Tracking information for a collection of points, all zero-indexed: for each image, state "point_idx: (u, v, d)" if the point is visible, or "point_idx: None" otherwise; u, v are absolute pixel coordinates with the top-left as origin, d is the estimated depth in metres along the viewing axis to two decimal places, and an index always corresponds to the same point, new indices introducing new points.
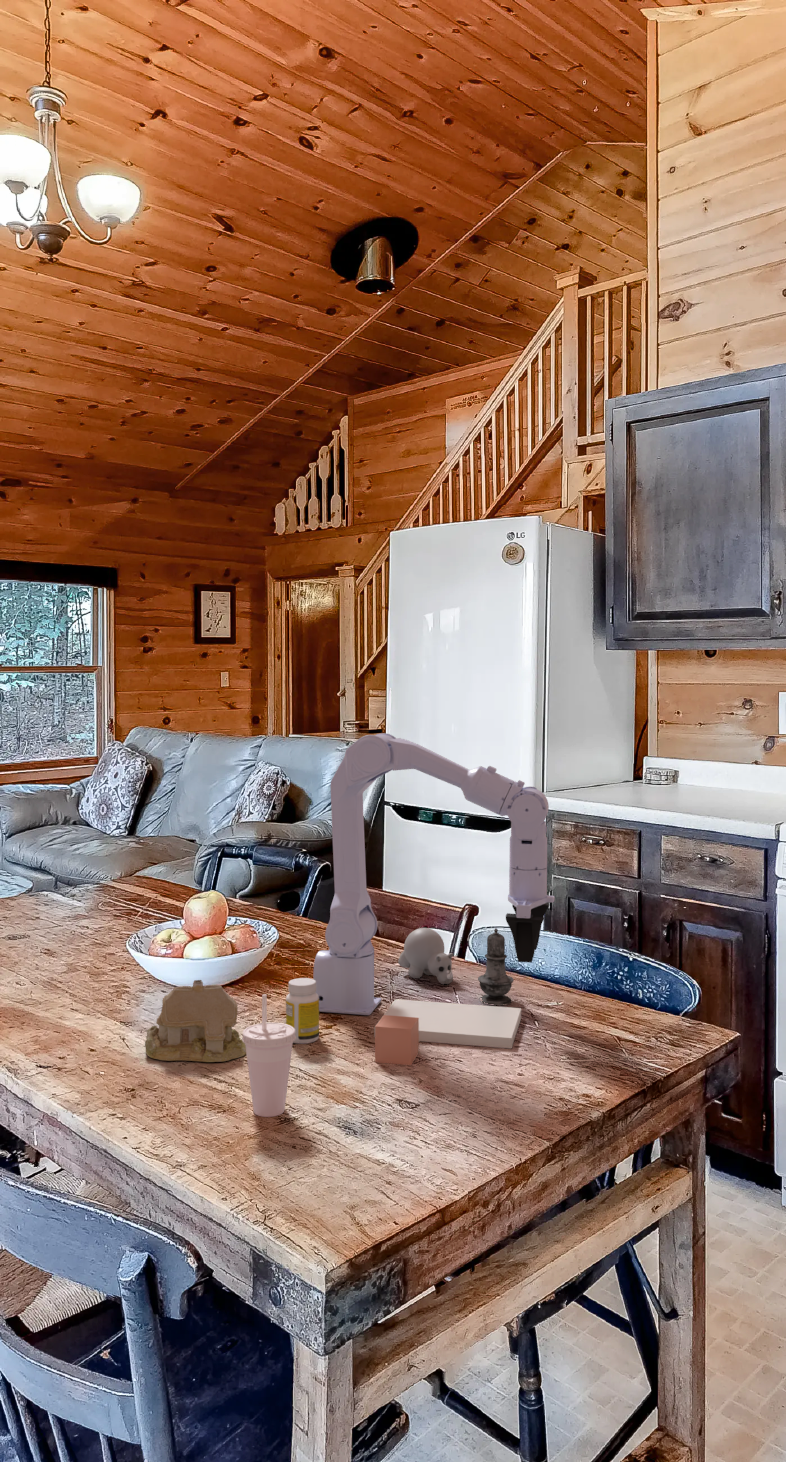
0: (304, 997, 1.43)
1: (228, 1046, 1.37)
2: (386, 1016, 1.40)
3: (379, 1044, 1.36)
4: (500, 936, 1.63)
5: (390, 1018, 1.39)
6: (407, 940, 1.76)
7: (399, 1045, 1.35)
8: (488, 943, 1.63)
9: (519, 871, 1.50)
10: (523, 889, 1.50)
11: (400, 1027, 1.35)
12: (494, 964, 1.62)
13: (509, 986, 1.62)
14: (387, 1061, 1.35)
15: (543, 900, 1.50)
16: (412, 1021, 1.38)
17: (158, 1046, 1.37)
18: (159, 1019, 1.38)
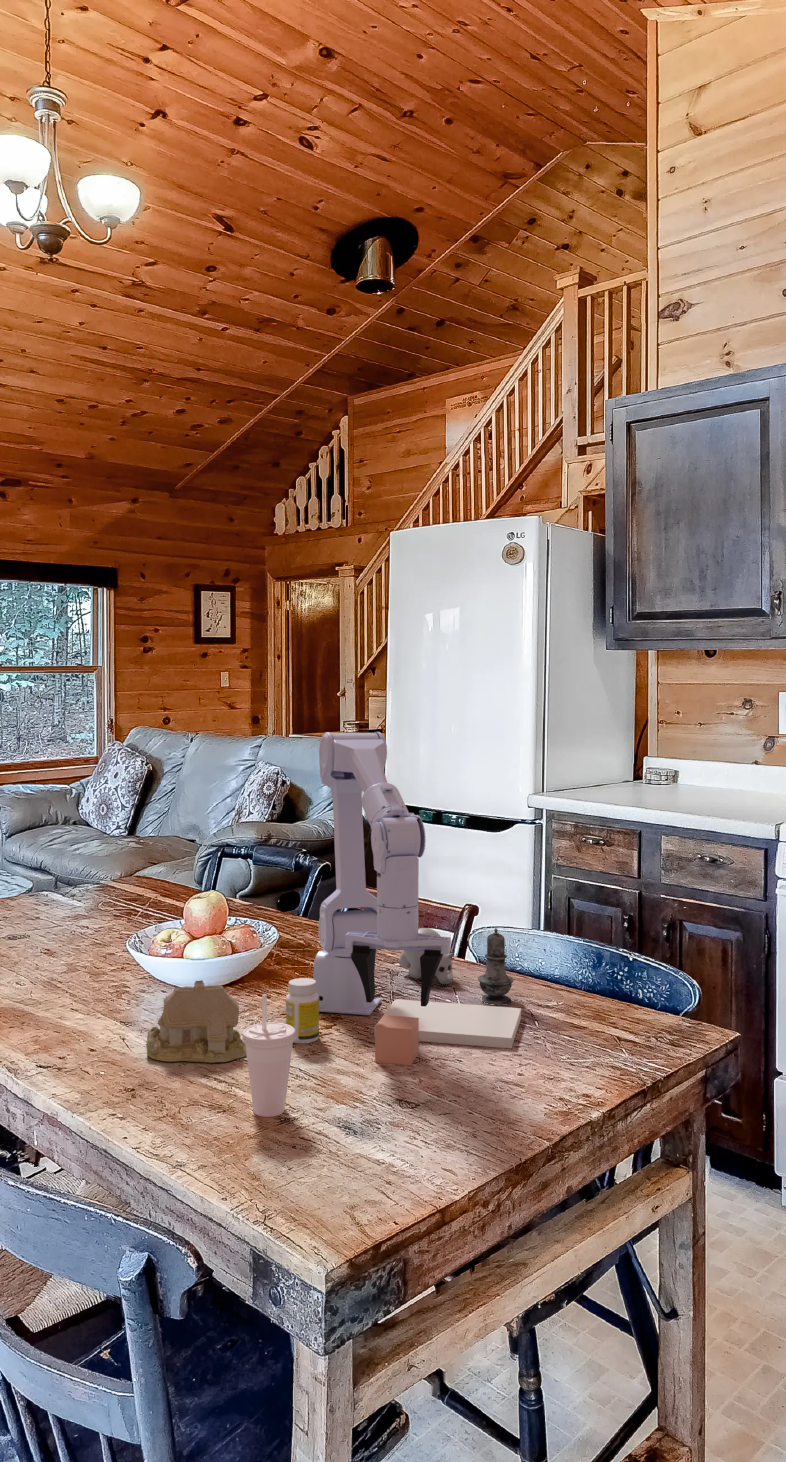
0: (304, 997, 1.43)
1: (229, 1047, 1.37)
2: (386, 1016, 1.40)
3: (379, 1044, 1.36)
4: (500, 936, 1.63)
5: (390, 1018, 1.39)
6: None
7: (399, 1045, 1.35)
8: (488, 943, 1.63)
9: None
10: None
11: (400, 1027, 1.35)
12: (494, 964, 1.62)
13: (509, 986, 1.62)
14: (387, 1061, 1.35)
15: (378, 940, 1.35)
16: (412, 1021, 1.38)
17: (160, 1047, 1.37)
18: (160, 1020, 1.38)
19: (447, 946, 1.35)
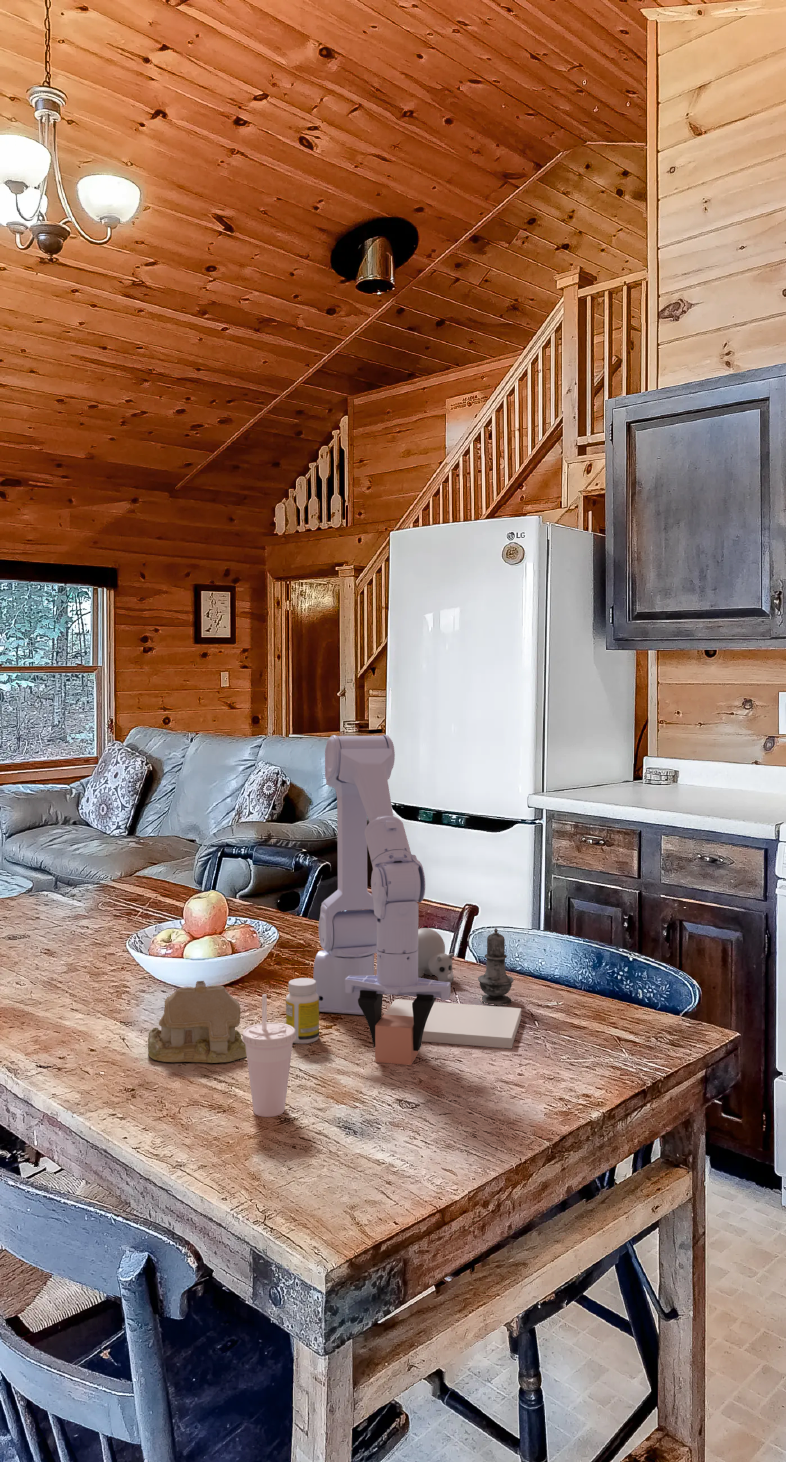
0: (304, 997, 1.43)
1: (232, 1047, 1.37)
2: (386, 1016, 1.40)
3: (379, 1043, 1.36)
4: (500, 936, 1.63)
5: (390, 1017, 1.39)
6: None
7: (400, 1045, 1.35)
8: (488, 943, 1.63)
9: None
10: None
11: (400, 1026, 1.35)
12: (494, 964, 1.62)
13: (509, 986, 1.62)
14: (387, 1060, 1.35)
15: (378, 985, 1.35)
16: (412, 1020, 1.38)
17: (161, 1047, 1.36)
18: (162, 1021, 1.37)
19: (447, 992, 1.35)
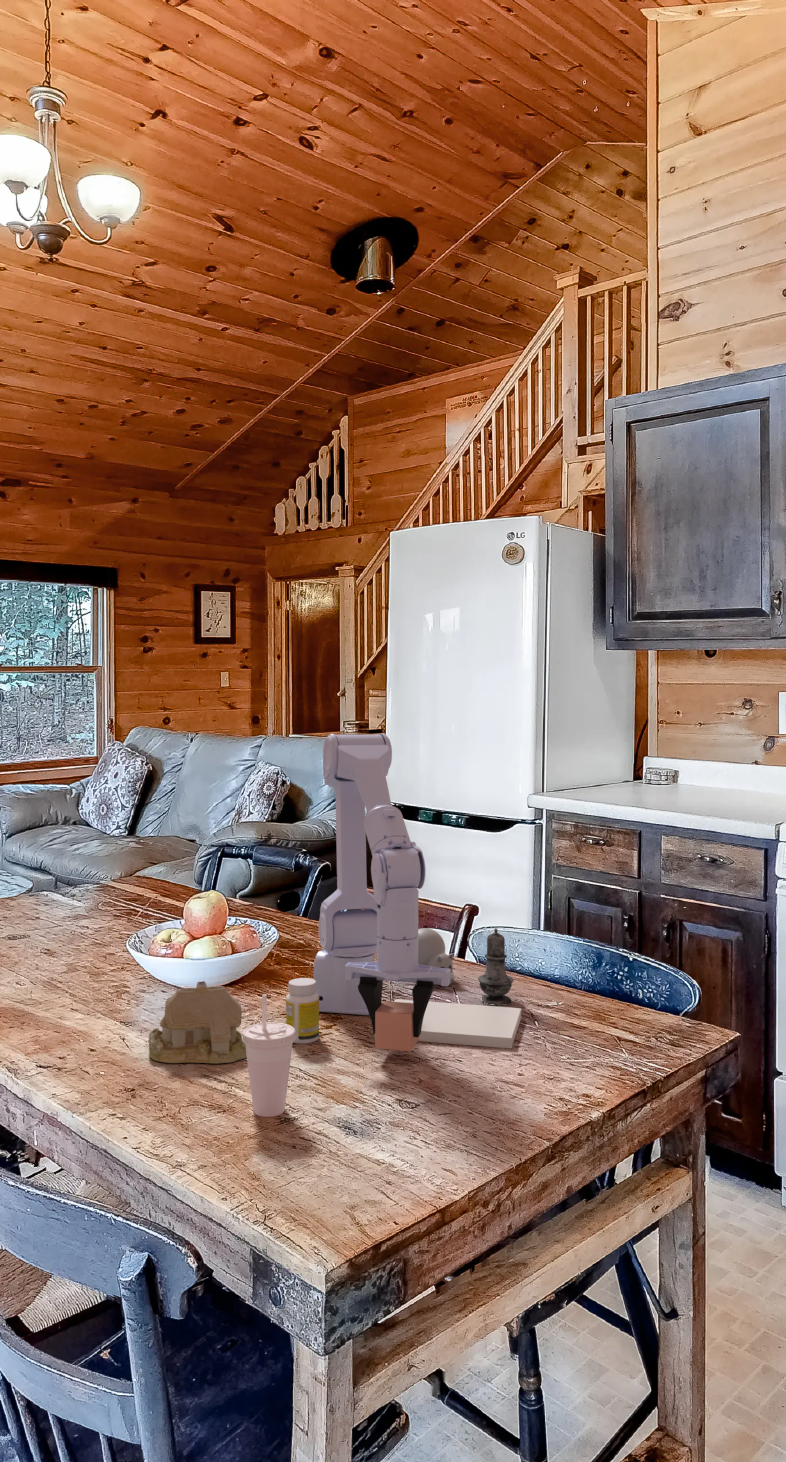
0: (304, 997, 1.43)
1: (233, 1047, 1.37)
2: (386, 1002, 1.40)
3: (379, 1029, 1.35)
4: (500, 936, 1.62)
5: (390, 1004, 1.39)
6: None
7: (399, 1031, 1.35)
8: (488, 943, 1.63)
9: None
10: None
11: (400, 1012, 1.35)
12: (494, 964, 1.62)
13: (509, 986, 1.62)
14: (387, 1046, 1.35)
15: (378, 972, 1.35)
16: (412, 1006, 1.38)
17: (162, 1048, 1.36)
18: (163, 1021, 1.37)
19: (447, 978, 1.35)
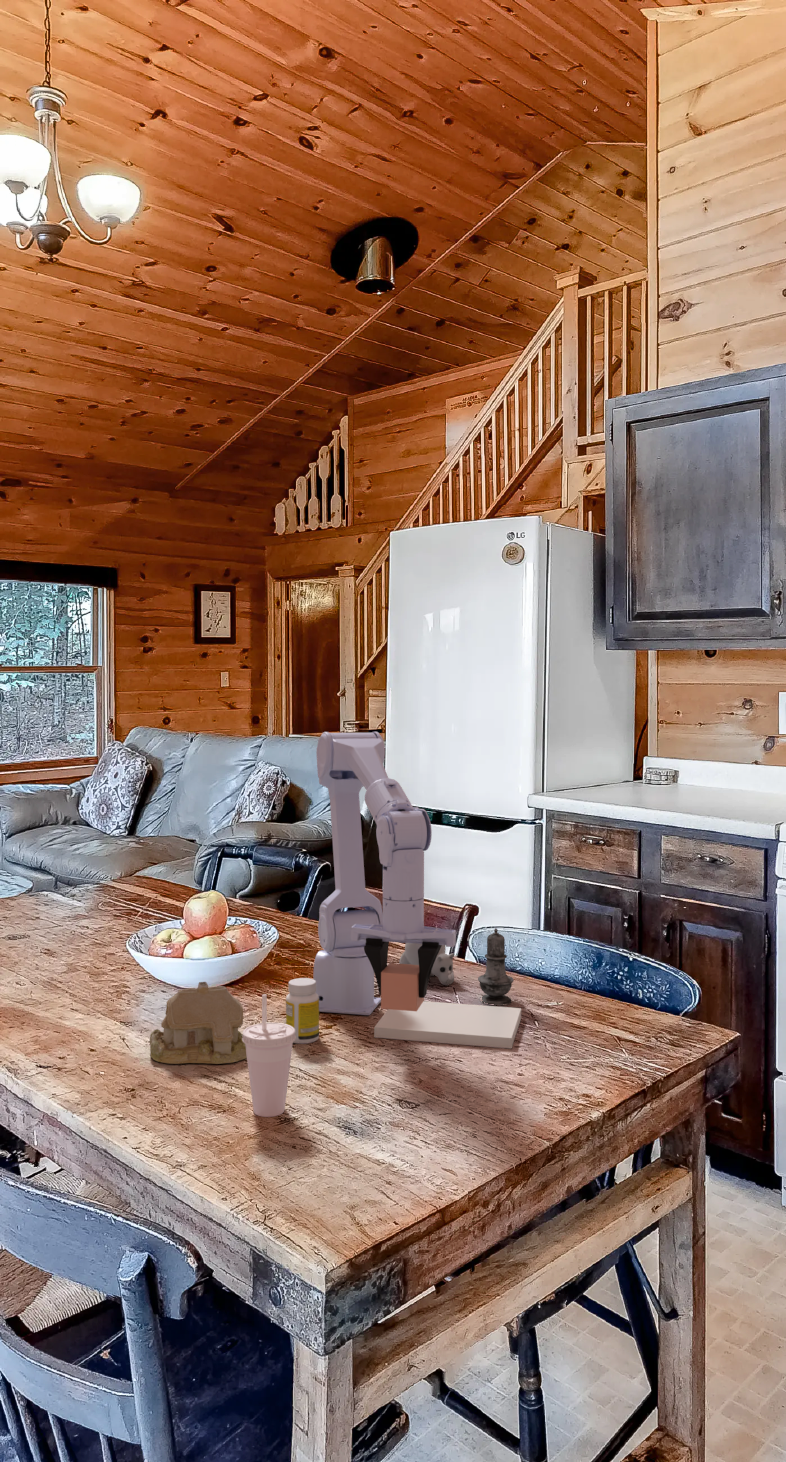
0: (304, 997, 1.43)
1: (235, 1047, 1.37)
2: (392, 964, 1.41)
3: (384, 990, 1.37)
4: (500, 936, 1.63)
5: (395, 966, 1.40)
6: None
7: (405, 991, 1.36)
8: (488, 943, 1.63)
9: None
10: None
11: (406, 973, 1.36)
12: (494, 964, 1.62)
13: (509, 986, 1.62)
14: (393, 1007, 1.36)
15: (384, 932, 1.36)
16: (417, 968, 1.39)
17: (164, 1049, 1.36)
18: (164, 1022, 1.37)
19: (452, 939, 1.36)
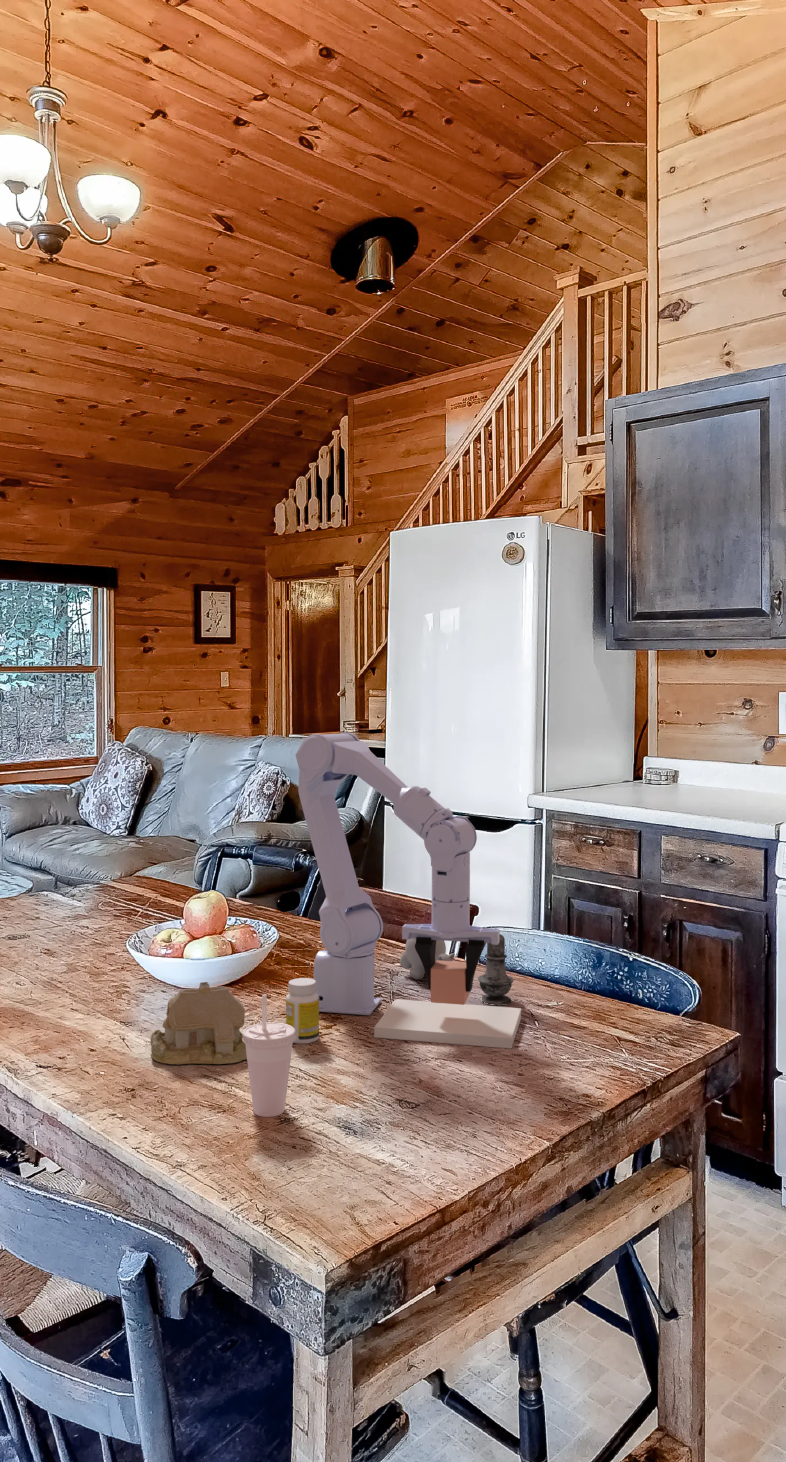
0: (304, 997, 1.43)
1: (237, 1048, 1.37)
2: (439, 961, 1.52)
3: (434, 985, 1.48)
4: (500, 936, 1.63)
5: (443, 963, 1.51)
6: (408, 940, 1.76)
7: (453, 986, 1.47)
8: (488, 943, 1.63)
9: None
10: None
11: (454, 969, 1.47)
12: (494, 964, 1.62)
13: (509, 986, 1.62)
14: (442, 1001, 1.48)
15: (434, 931, 1.48)
16: (463, 965, 1.50)
17: (166, 1050, 1.35)
18: (166, 1023, 1.37)
19: (497, 937, 1.47)
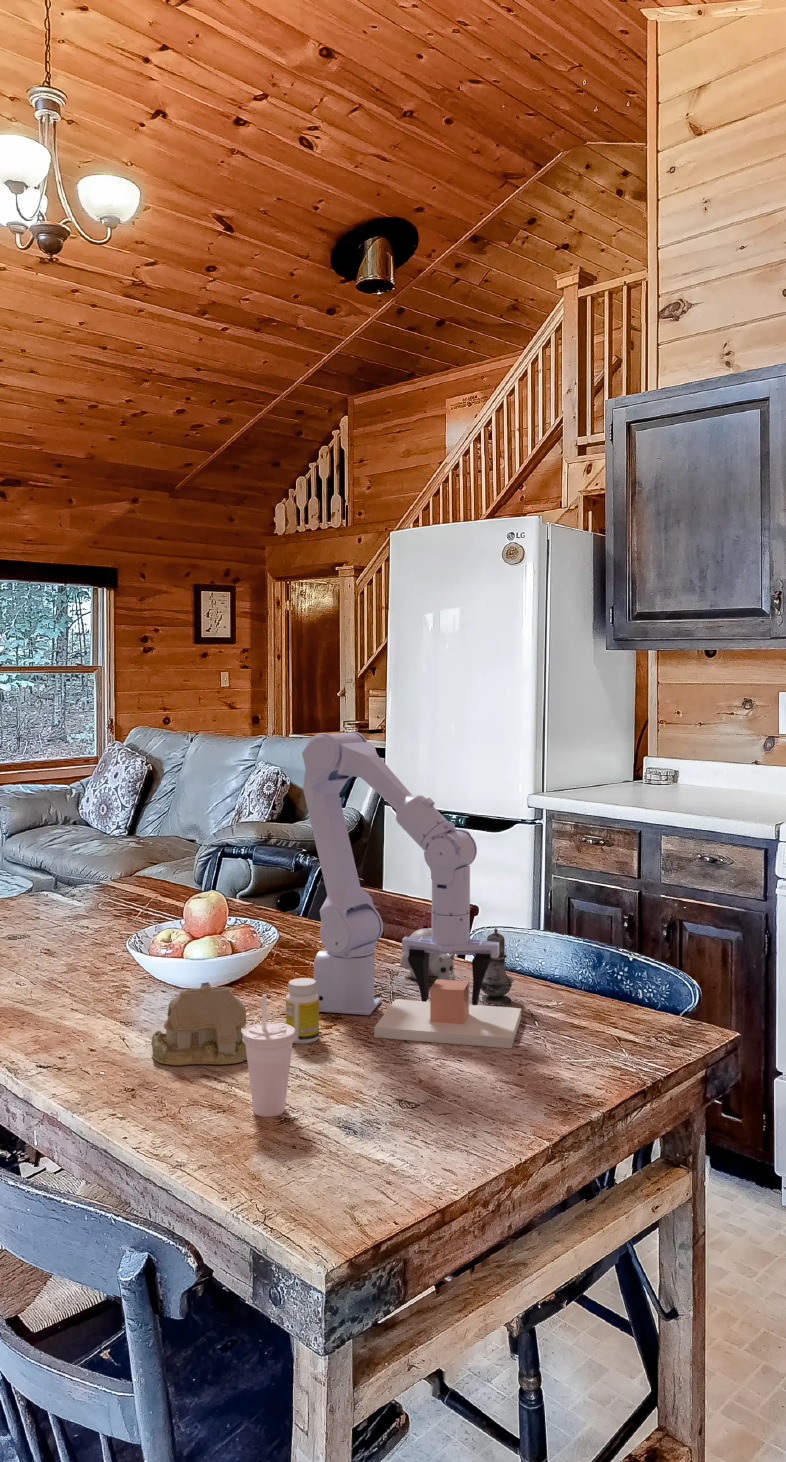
0: (304, 997, 1.43)
1: (239, 1048, 1.37)
2: (439, 980, 1.52)
3: (433, 1004, 1.48)
4: (500, 936, 1.63)
5: (443, 981, 1.51)
6: None
7: (453, 1005, 1.47)
8: None
9: None
10: None
11: (453, 989, 1.48)
12: (494, 964, 1.62)
13: (509, 986, 1.62)
14: (441, 1020, 1.48)
15: (434, 945, 1.48)
16: (463, 984, 1.50)
17: (168, 1051, 1.35)
18: (167, 1024, 1.36)
19: (496, 950, 1.47)
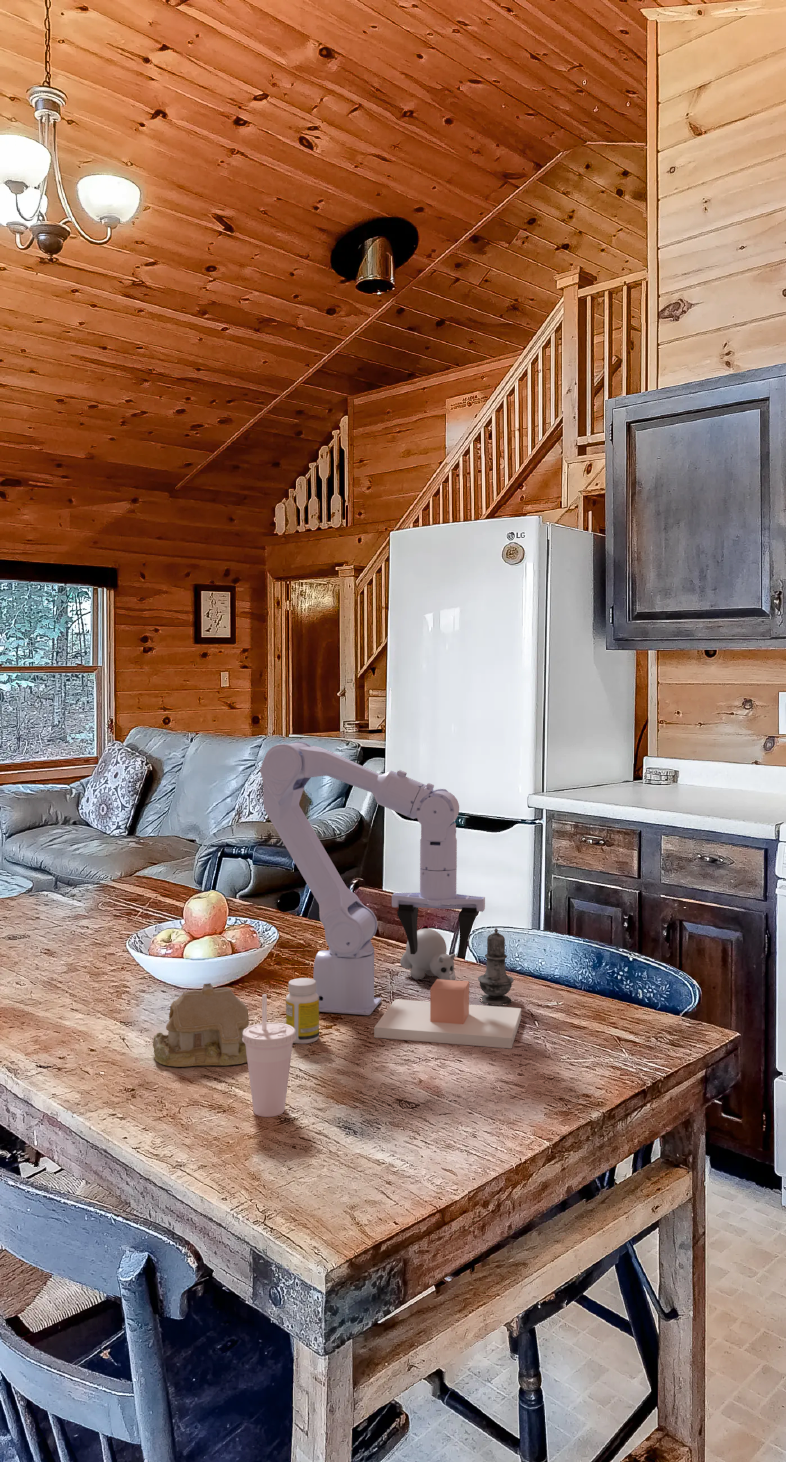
0: (304, 997, 1.43)
1: (242, 1048, 1.37)
2: (439, 980, 1.52)
3: (433, 1004, 1.48)
4: (500, 936, 1.62)
5: (443, 981, 1.51)
6: None
7: (453, 1005, 1.47)
8: (488, 943, 1.63)
9: None
10: None
11: (453, 989, 1.48)
12: (494, 964, 1.62)
13: (509, 986, 1.62)
14: (441, 1020, 1.48)
15: (422, 899, 1.54)
16: (463, 984, 1.50)
17: (170, 1052, 1.34)
18: (170, 1025, 1.36)
19: (482, 904, 1.54)
